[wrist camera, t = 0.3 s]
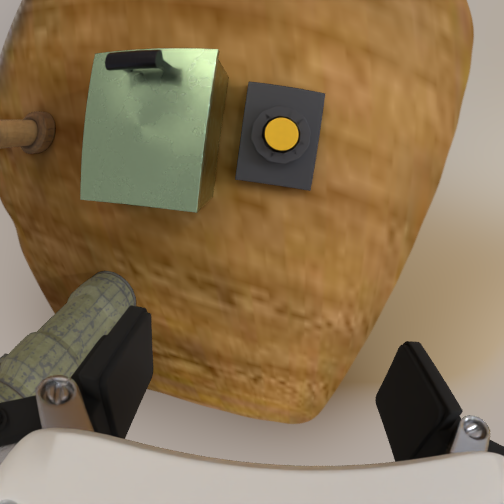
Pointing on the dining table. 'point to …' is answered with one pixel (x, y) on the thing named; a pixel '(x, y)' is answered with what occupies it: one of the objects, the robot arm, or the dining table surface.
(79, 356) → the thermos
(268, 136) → the button
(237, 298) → the dining table surface
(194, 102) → the lid
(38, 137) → the mortar and pestle
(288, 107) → the control box
